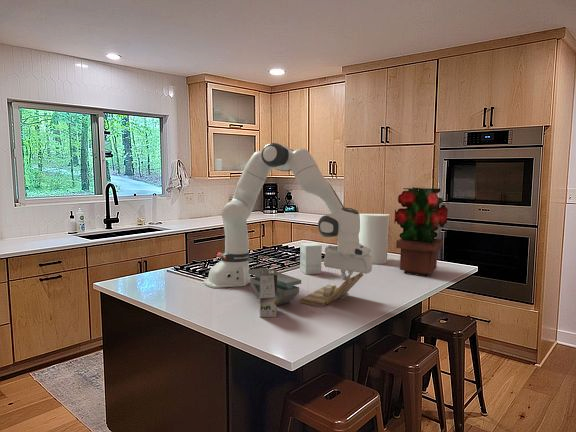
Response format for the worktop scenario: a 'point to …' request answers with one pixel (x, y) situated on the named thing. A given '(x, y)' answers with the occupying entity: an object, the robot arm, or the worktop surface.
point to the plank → (344, 287)
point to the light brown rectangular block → (319, 296)
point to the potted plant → (419, 229)
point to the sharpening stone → (284, 286)
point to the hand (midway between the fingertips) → (346, 280)
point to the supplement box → (310, 258)
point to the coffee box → (268, 292)
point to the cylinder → (375, 235)
